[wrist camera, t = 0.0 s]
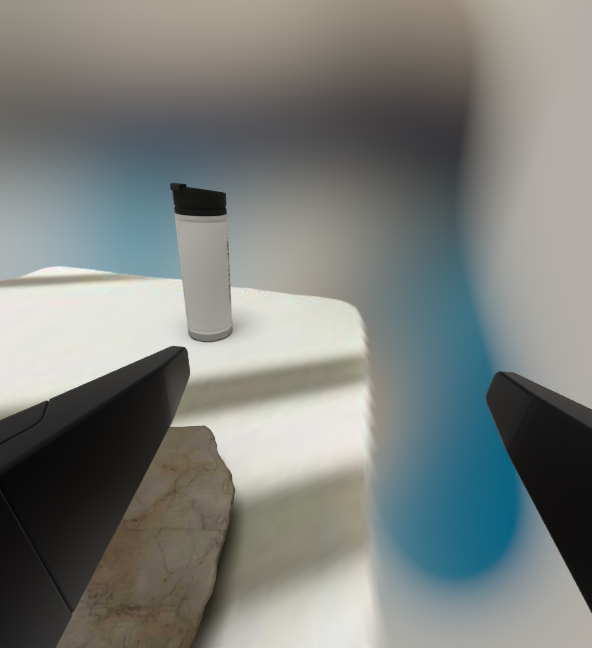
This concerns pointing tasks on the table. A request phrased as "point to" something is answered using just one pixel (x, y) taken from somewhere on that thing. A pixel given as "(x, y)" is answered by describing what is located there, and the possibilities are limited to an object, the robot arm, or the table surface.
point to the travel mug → (204, 260)
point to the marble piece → (160, 552)
